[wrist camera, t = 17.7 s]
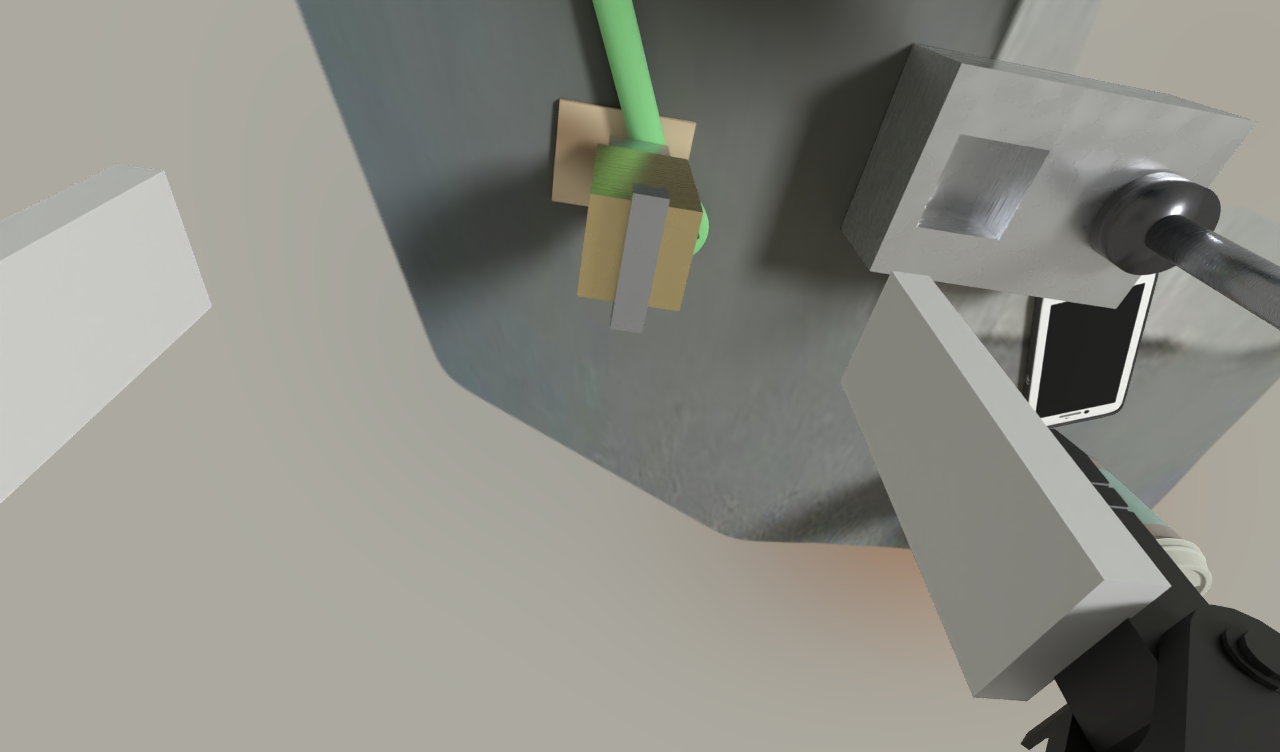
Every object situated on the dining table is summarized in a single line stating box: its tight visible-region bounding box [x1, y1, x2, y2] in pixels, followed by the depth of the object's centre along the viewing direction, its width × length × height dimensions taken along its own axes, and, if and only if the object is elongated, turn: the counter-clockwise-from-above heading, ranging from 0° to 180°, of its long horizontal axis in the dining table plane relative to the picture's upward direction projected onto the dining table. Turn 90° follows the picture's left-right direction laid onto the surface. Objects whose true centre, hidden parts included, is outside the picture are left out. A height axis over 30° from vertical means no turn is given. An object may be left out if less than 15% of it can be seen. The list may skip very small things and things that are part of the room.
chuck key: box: [577, 135, 703, 333], centre depth 29 cm, size 6×5×13 cm
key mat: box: [552, 98, 696, 206], centre depth 36 cm, size 6×8×1 cm
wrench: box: [592, 0, 709, 255], centre depth 32 cm, size 25×2×5 cm
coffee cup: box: [1088, 456, 1212, 596], centre depth 49 cm, size 8×9×12 cm
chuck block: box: [841, 44, 1280, 330], centre depth 30 cm, size 11×16×18 cm
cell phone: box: [1023, 273, 1158, 429], centre depth 45 cm, size 8×15×1 cm, turn 16°
